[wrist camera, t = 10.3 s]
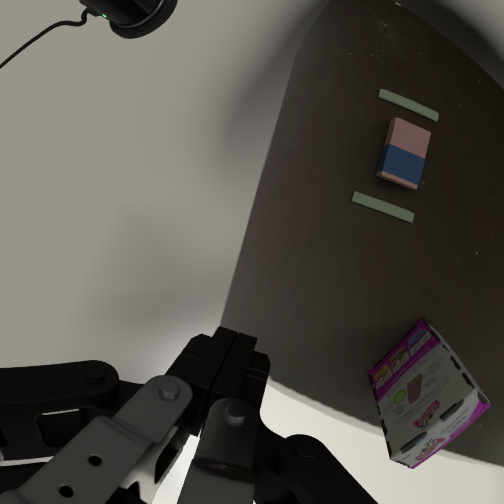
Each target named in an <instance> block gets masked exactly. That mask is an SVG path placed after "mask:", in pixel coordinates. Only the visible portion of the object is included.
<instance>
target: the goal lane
mask: <svg viewBox="0 0 504 504" xmlns="http://www.w3.org/2000/svg"><path fill="white" fill-rule="evenodd" d="M379 98H382V99H384V100H387V101H390V102H392V103H395V104H397V105H400V106H402V107H404V108H407V109H409V110H411V111H414V112H416V113H418V114H420V115H423V116H425V117H427V118H429V119H431V120H433V121H435V122H437V121H438V116H439V113H437V112H435V111H433V110H431V109H429V108H427V107H424V106H422V105H420V104H418V103H416V102H413V101H411V100H409V99H406V98H404V97H402V96H399V95H397V94H394V93H392V92H389V91H387V90H384V89H380V92H379ZM352 201H353V202H356V203H359V204H362V205H365V206H368V207H370V208H373V209H376V210H379V211H382V212H384V213H387V214H390V215H393V216H395V217H398V218H401V219H403V220H406V221H408V222H411V223H412V221H413V218H414V215H415V213H413V212H410V211H408V210H405V209H402V208H400V207H397V206H395V205H392V204H389V203H387V202H384V201H381V200H378V199H376V198H373V197H370V196H367V195H364V194H362V193H359V192H356V191H354V194H353V197H352Z"/></svg>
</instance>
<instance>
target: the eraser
mask: <svg viewBox="0 0 504 504" xmlns="http://www.w3.org/2000/svg"><path fill="white" fill-rule="evenodd" d="M430 134H431V132H429V131H427V130H424V129H422V128H420V127H418V126H416V125H414V124H411V123H409V122H407V121H404V120H402V119H400V118H397V117H396V118H394V119H393V120H391V121H390V125H389V129H388V133H387V137H386V141H385V145H384V147H383V150H382V154H381V158H380V162H379V165H378V169H377V174H376V176H379V177H381V178H384V179H386V180H389V181H392V182H394V183H397V184H399V185H402V186H404V187H406V188H409V189H417V186H418V185H419V182H420V178H421V174H422V171H423V167H424V163H425V156H426V152H427V147H428V143H429V138H430Z"/></svg>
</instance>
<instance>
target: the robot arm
mask: <svg viewBox="0 0 504 504" xmlns="http://www.w3.org/2000/svg"><path fill="white" fill-rule="evenodd" d="M79 1H80V3H81V4H83V5H85V6H86V7H87V8H86V9H85V10H84V12H83V13H82V15H81V19H82V21H80V22H74V21H60V22H57V23H55V24H53V25H51V26H49V27H48V28H46V29H45V30H44V31H42V32H41V33H40V34H38V35H37V36H35V37H34V38H32V39H31V40H30V41H28V42H27V43H26V44H24V45H23V46H22V47H21V48H19V49H18V50H17V51H16V52H15V53H13V54H12V55H11V56H10V57H9V58H7V59H6V60H5V61H4V62H3V63H2V64H1V65H0V68H2V67H3V66H4V65H5V64H6V63H8V62H9V61H10V60H11V59H12V58H13V57H15V56H16V55H17V54H18V53H20V52H21V51H22V50H23V49H25V48H26V47H27V46H29V45H30V44H31V43H33V42H34V41H36V40H37V39H39V38H40V37H41V36H43V35H44V34H45V33H47V32H48V31H50V30H52V29H53V28H56V27H58V26H61V25H69V26H77V27H78V26H82V25H84V24H85V23H86V21H87V14H88V13H90V14H91V15H93V16H95V17H96V16H103V17H104V18H106V19H107V20H109V21H110V22H112V23H115V24H116V25H118V26H119V27H121V28H124V29H133V28H137V27H139V26H142V25H144V24H145V23H147V22H149V21H150V20H151V19H153V18H154V17H155V16H156V15H157V14H158V13H159V12H160V10H161V9H162V8H163V6H164V4H165V2H166V0H79ZM237 334H238V335H237ZM256 342H257V338H255V337H252V336H249V335H246V334H243V333H240V332H239V333H238V332H236V331H233V330H230V329H227V328H224V327H221V326H219V327H218V328H217V330H216V331H215V333H214V335H213V336H212V337H210V336H207V335H204V334H200V335H198V336H196V337H193V338H191V340H190V341H189V343H188V344H187V345H186V347H185V348H184V349H183V351H182V352H181V354H180V355H179V356H178V357H177V359H176V360H175V361H174V363H173V364H172V365H171V367H170V368H169V369H168V371H167V372H166V373H165V375H159V376H155V377H153V378H151V379H150V380H148V381H147V382H146V383H145V384H137V383H132V382H127V381H122V380H119V376H118V373H117V371H116V369H115V368H114V367H112V366H111V365H110V364H108V363H105V362H102V361H97V360H89V361H80V362H71V363H62V364H52V365H40V366H28V367H13V368H0V504H151V503H152V501H153V499H154V496H155V493H156V491H157V489H158V488H159V486H160V485H161V483H162V482H163V480H164V479H165V477H166V475H167V474H168V473H169V471H170V469H171V468H172V466H173V465H174V463H175V462H176V460H177V459H178V457H179V455H180V454H181V452H182V450H183V446H184V445H185V444H186V441H187V440H188V438H189V436H190V434H191V435H194V436H196V437H198V435H199V433H200V430H201V434H200V440H199V443H198V447H197V449H196V453H195V455H194V458H193V459H192V461H191V464H190V467H189V469H188V472H187V476H186V478H185V481H184V484H183V487H182V490H181V493H180V496H179V498H178V501H177V504H253V500H254V501H255V503H256V504H378V503H377V502H376V501H375V500H374V499H373V498H372V497H371V496H370V495H369V493H367V491H366V490H365V489H364V488H363V487H362V486H361V485H360V484H359V483H358V482H357V481H356V480H355V479H354V478H353V476H352V475H351V474H350V473H349V472H348V471H347V470H346V469H345V468H344V467H343V466H342V464H341V463H340V462H339V461H338V460H337V459H336V458H335V457H334V456H333V455H332V453H331V452H330V451H329V450H328V449H327V448H326V447H325V445H324V444H323V443H322V442H320V441H319V440H317V439H316V438H314V437H311V436H308V435H303V434H296V435H291V436H289V437H287V438H283V437H282V436H280V435H278V434H276V433H274V432H273V431H271V430H270V429H268V428H267V427H266V426H265V425H264V423H263V422H262V420H261V417H260V408H261V403H262V399H263V395H264V391H265V387H266V383H267V379H268V374H269V370H270V366H271V363H270V361H269V358H268V356H267V354H263V353H260V352H257V351H254V348H255V345H256ZM73 409H79V411H72V412H64V413H57V414H49V415H42V414H43V413H50V412H59V411H66V410H73ZM201 428H202V429H201ZM51 456H54V457H53V458H52V459H51V460H49V461H48V462H37V463H29V464H21V465H11V466H1V464H2V462H3V461H8V460H23V459H34V458H43V457H51Z"/></svg>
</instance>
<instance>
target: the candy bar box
mask: <svg viewBox="0 0 504 504" xmlns="http://www.w3.org/2000/svg"><path fill="white" fill-rule="evenodd" d="M368 375H369V379H370V383H371V386H372V390H373V393H374V397H375V400H376V404H377V408H378V411H379V415H380V420H381V424H382V428H383V432H384V436H385V440H386V443H387V449H388V453H389V457H390V460H392V461H395V462H397V463H400V464H403V465H405V466H406V465H407V467H408V468H412V469H414V468H415V467H417V466H418V465H420V464H421V463H422V462H424V461H425V460H427V459H428V458H429V457H431V456H432V455H434V454H435V453H436V452H438V451H439V450H440V449H442V448H443V447H444V446H445V445H447V444H448V443H449V442H451V441H452V440H453V439H454V438H455V437H457V436H458V435H459V434H460V433H461V432H463V431H464V430H465V429H466V428H467V427H468V426H469V425H471V424H472V423H473V422H474V421H475V420H476V419H477V418H478V417H479V416H480V415H481V414H482V413H484V412H485V411H486V410H487V409H488V408H489V407H490V406H491V404H490V402H489V400H488V399H487V397H486V396H485V394H484V393H483V391H482V390H481V389H480V387H479V386H478V384H477V383H476V381H475V380H474V379H473V377H472V376H471V375H470V373H469V372H468V370H467V369H466V368H465V366H464V365H463V363H462V362H461V361H460V359H459V358H458V357H457V355H456V354H455V353H454V351H453V350H452V349H451V347H450V346H449V345H448V343H447V342H446V341H445V340H444V339H443V337H442V336H441V335H440V334H439V333H438V332H437V331H436V330H435V329H434V328H433V327H432V326H431V325H430V324H429V323H428V322H427V321H426V320H425V319H424V318H422V319H421V320H420V321H419V322H418V323H417V324H416V325H415V326H414V327H413V328H412V329H411V330H410V332H409V333H408V334H407V335H406V336H405V337H404V338H403V339H402V340H401V341H400V342H399V343H398V344H397V345H396V346H395V347H394V348H393V349H392V350H391V351H390V352H389V353H388V354H387V355H386V356H385V357H384V358H383V359H382V360H381V361H380V362H379V363H378V364H377V365H376V366H375V367H374V368H373V369H372V370H371V371H369V372H368Z"/></svg>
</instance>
